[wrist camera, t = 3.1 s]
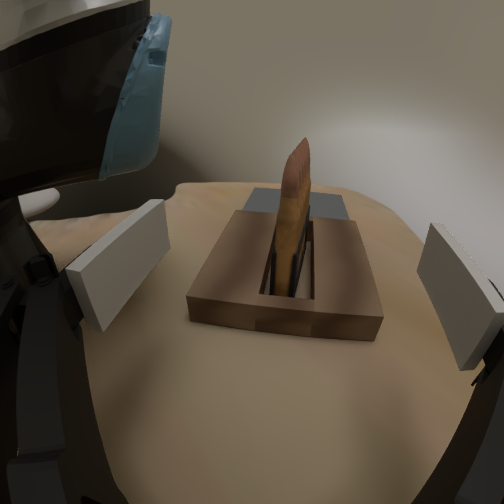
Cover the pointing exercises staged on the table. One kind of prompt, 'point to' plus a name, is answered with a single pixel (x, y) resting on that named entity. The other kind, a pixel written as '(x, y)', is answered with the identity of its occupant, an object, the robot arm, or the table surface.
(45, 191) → the flower in vase
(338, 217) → the slate mat
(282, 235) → the ammunition clip
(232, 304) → the walnut caddy
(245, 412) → the table surface
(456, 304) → the robot arm
